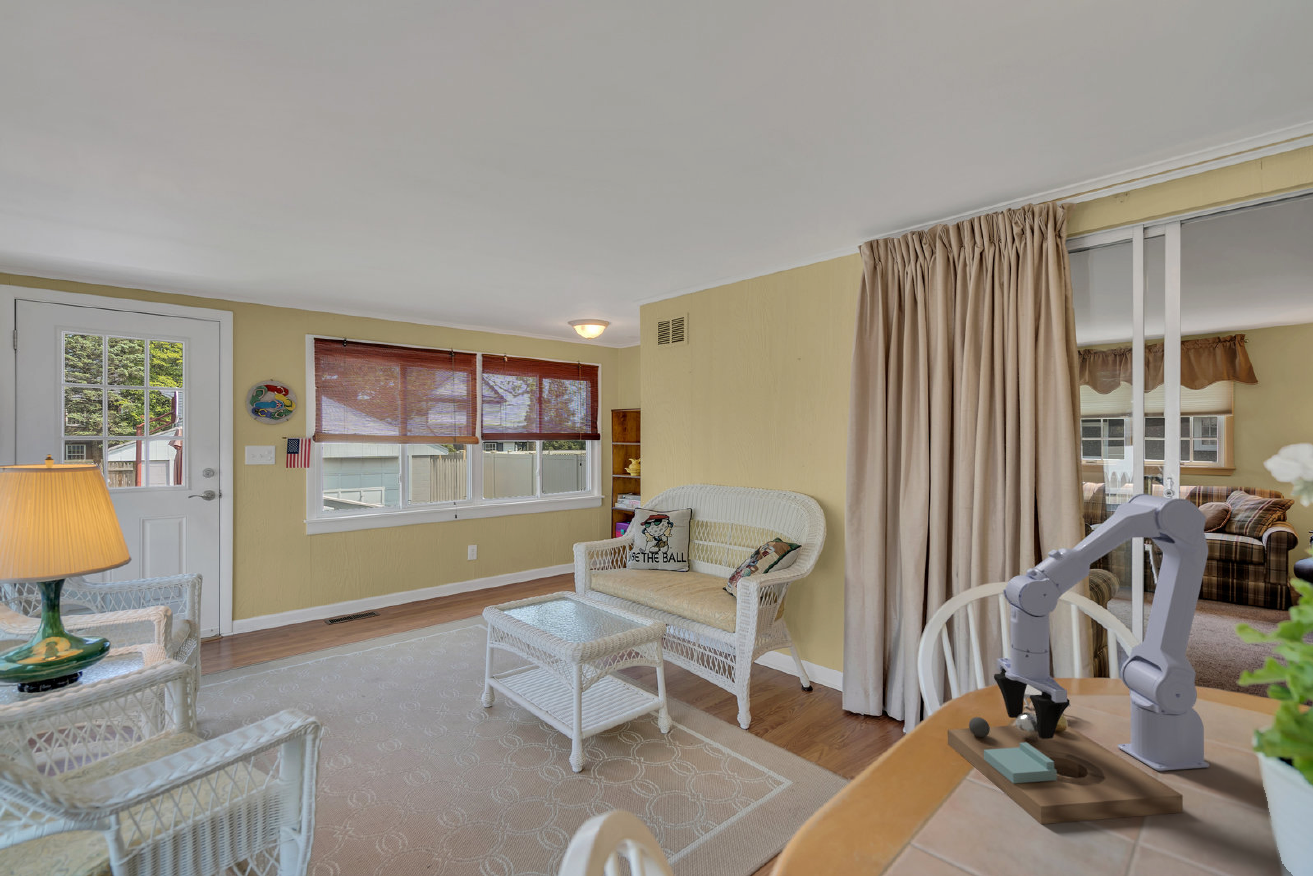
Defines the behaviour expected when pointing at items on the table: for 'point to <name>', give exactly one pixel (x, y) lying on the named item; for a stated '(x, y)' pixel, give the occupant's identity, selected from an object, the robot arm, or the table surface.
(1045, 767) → the cover
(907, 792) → the table surface
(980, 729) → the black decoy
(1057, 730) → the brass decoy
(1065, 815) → the wooden board
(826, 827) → the table surface
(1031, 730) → the steel ball
